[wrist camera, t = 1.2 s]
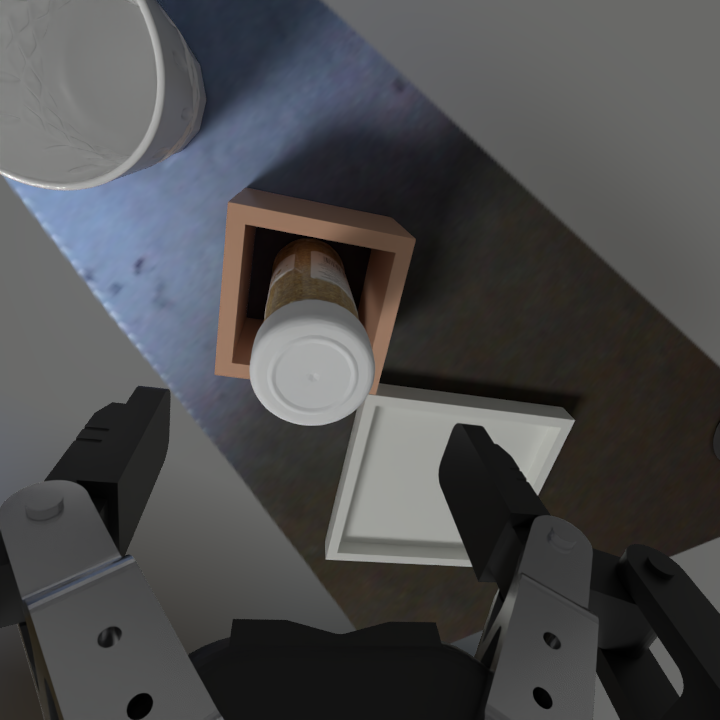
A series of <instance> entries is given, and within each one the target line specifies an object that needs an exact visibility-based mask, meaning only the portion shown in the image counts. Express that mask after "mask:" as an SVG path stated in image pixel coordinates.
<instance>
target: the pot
mask: <svg viewBox="0 0 720 720" xmlns="http://www.w3.org/2000/svg"><path fill="white" fill-rule="evenodd" d="M256 226H257V227H262V228H268V229H273V230H278V231H283V232H289V233H294V234H299V235H304V236H310V237H315V238H320V239H325V240H331V241H336V242H341V243H346V244H352V245H357V246H362V247H367V248H371V253H370V258H369V262H368V267H367V271H366V276H365V281H364V285H363V290H362V294H361V299H360V303H359V308H358V320H359V321H360V322H361V324H362V325H363V327H364V328H365V330H366V332H367V334H368V337H369V340H370V343H371V347H372V351H373V355H374V360H375V378H374V382H373V385H372V388H371V390H370V392H369V394H373V395H376V392H377V388H378V384H379V380H380V377H381V373H382V369H383V365H384V361H385V357H386V353H387V350H388V346H389V342H390V338H391V334H392V330H393V326H394V322H395V319H396V315H397V311H398V307H399V303H400V299H401V295H402V292H403V288H404V284H405V280H406V276H407V272H408V268H409V264H410V261H411V257H412V253H413V249H414V245H415V241H416V239H415V238H414V237H413V236H412V235H411V234H410V233H409V232H407V231H406V230H405V229H404V228H403V227H402V226H401V225H400V224H398V223H397V222H396V221H395V220H394V219H393V218H392V217H387V216H382V215H377V214H372V213H368V212H363V211H358V210H353V209H348V208H343V207H338V206H334V205H329V204H324V203H319V202H314V201H309V200H305V199H300V198H295V197H290V196H285V195H280V194H275V193H271V192H266V191H261V190H256V189H251V188H244V189H243V190H242V191H241V192H240V193H238V194H237V195H236V196H235V197H233V198H232V199H231V200H230V201H229V202H228V210H227V222H226V235H225V248H224V261H223V274H222V286H221V299H220V312H219V325H218V338H217V350H216V363H215V375H221V376H229V377H237V378H245V379H250V371H249V370H250V360H251V353H252V348H253V344H254V340H255V337H256V334H257V332H258V330H259V328H260V327H261V325H262V324H263V322H264V320H260V319H254V318H247V309H248V299H249V290H250V280H251V271H252V262H253V252H254V243H255V233H256Z"/></svg>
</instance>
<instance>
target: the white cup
mask: <svg viewBox="0 0 720 720" xmlns="http://www.w3.org/2000/svg"><path fill="white" fill-rule="evenodd" d="M206 100H207V99H206V94H205V89H204V83H203V78H202V72H201V67H200V64H199V62H198V61H197V59H196V57H195V56H194V54H193V52H192V51H191V49H190V47H189V46H188V44H187V43H186V41H185V39H184V38H183V36H182V34H181V33H180V31H179V30H178V28H177V27H176V25H175V24H174V23H173V21H172V20H171V19H170V17H169V16H168V15H167V13H166V12H165V11H164V9H163V8H162V7H161V5H160V4H159V3H158V2H157V1H156V0H0V174H1V175H3V176H5V177H8V178H10V179H12V180H15V181H18V182H21V183H24V184H27V185H31V186H35V187H39V188H44V189H52V190H81V189H87V188H92V187H96V186H99V185H102V184H105V183H107V182H110V181H113V180H115V179H118V178H121V177H123V176H126V175H129V174H132V173H135V172H137V171H140V170H143V169H146V168H148V167H151V166H153V165H155V164H157V163H159V162H161V161H163V160H165V159H167V158H168V157H170V156H171V155H173V154H176V153H179V152H181V151H182V150H183V149H184V148H185V146H186V145H187V144H188V143H189V142H190V141H191V140H192V138H193V137H194V136H195V135H196V134H197V133H198V132H199V130H200V126H201V122H202V118H203V113H204V109H205V105H206Z"/></svg>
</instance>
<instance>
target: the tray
mask: <svg viewBox="0 0 720 720" xmlns="http://www.w3.org/2000/svg"><path fill="white" fill-rule="evenodd" d="M574 421H575V420H574V419H573V418H572V417H571V416H570V414H569V413H568V412H567V411H566V410H565V409H564V408H563V407H557V406H549V405H542V404H534V403H526V402H519V401H511V400H503V399H496V398H488V397H480V396H472V395H465V394H457V393H449V392H442V391H434V390H426V389H419V388H411V387H403V386H396V385H388V384H380V383H379V384H378V388H377V392H376V395H373V394H368V396H367V397H366V399H365V400H364V401H363V403H362V404H361V405H360V406H359V407H358V408H357V411H356V415H355V419H354V424H353V428H352V432H351V436H350V440H349V444H348V448H347V453H346V457H345V461H344V465H343V469H342V473H341V477H340V481H339V486H338V490H337V494H336V498H335V502H334V506H333V510H332V515H331V519H330V523H329V527H328V531H327V535H326V539H325V552H326V559H328V560H348V561H368V562H388V563H408V564H428V565H449V566H469V567H472V564H471V562H470V559H469V557H468V554H467V552H466V549H465V547H464V544H463V542H462V539H461V537H460V534H459V532H458V529H457V527H456V524H455V522H454V519H453V517H452V514H451V512H450V509H449V507H448V504H447V502H446V499H445V497H444V494H443V492H442V489H441V487H440V484H439V477H438V473H439V465H440V462H441V459H442V457H443V454H444V451H445V448H446V446H447V443H448V440H449V437H450V434H451V432H452V429H453V427H454V426H455V424H457V423H462V424H471V425H480V426H483V427H484V428H485V430H486V431H487V433H488V434H489V436H490V438H491V439H492V441H493V442H494V444H498V445H499V446H500V447H502V448H503V449H504V450H505V451H506V452H507V453H509V454H510V455H511V456H512V458H513V459H514V461H515V462H516V464H517V465H518V467H519V468H520V471H522V473H523V474H524V476H525V477H526V479H527V480H526V481H527V482H529V483H530V485H531V486H532V488H533V489H534V491H535V492H536V494H537V496H538V494H539V492H540V490H541V488H542V486H543V484H544V482H545V480H546V478H547V476H548V474H549V472H550V470H551V468H552V466H553V464H554V462H555V460H556V458H557V456H558V454H559V452H560V450H561V448H562V446H563V444H564V442H565V440H566V438H567V436H568V434H569V432H570V430H571V427H572V425H573V423H574Z"/></svg>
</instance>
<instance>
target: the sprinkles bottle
mask: <svg viewBox="0 0 720 720" xmlns="http://www.w3.org/2000/svg"><path fill="white" fill-rule="evenodd" d="M249 371H250V380H251V384H252V387H253V390H254V392H255V394H256V396H257V397H258V399H259V400H260V402H261V403H262V404H263V405H264V406H265V407H266V408H267V409H268V410H269V411H270V412H272V413H273V414H274V415H276V416H278V417H279V418H281V419H283V420H286V421H288V422H291V423H295V424H300V425H324V424H329V423H332V422H335V421H338V420H340V419H342V418H344V417H346V416H347V415H349V414H351V413H352V412H353V411H355V410H356V409H357V408H358V407H359V406H360V405H361V404H362V403H363V401H364V400H365V399H366V397H367V396H368V394H369V392H370V390H371V388H372V385H373V382H374V378H375V360H374V355H373V351H372V347H371V343H370V340H369V337H368V334H367V332H366V330H365V328H364V327H363V325H362V324H361V322H360V321H359V320H358V312H357V309H356V306H355V303H354V299H353V296H352V293H351V290H350V287H349V284H348V281H347V278H346V275H345V270H344V266H343V263H342V260H341V258H340V256H339V255H338V253H337V252H336V251H335V250H334V249H333V248H332V247H331V246H330V245H328V244H327V243H325V242H322V241H319V240H317V239H309V238H301V239H298V240H295V241H293V242H291V243H289V244H287V245H286V246H285V247H284V248H283V249H282V250H280V252H279V253H278V254H277V256H276V258H275V260H274V263H273V267H272V278H271V282H270V287H269V293H268V298H267V303H266V308H265V319H264V322H263V324H262V325H261V327H260V328H259V330H258V332H257V334H256V337H255V340H254V344H253V348H252V353H251V360H250V370H249Z"/></svg>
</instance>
